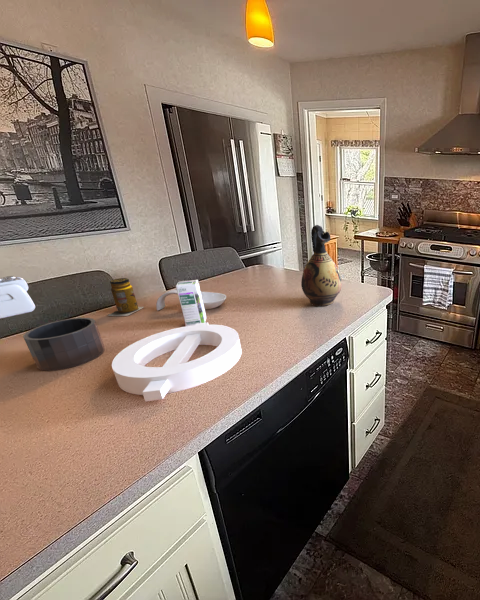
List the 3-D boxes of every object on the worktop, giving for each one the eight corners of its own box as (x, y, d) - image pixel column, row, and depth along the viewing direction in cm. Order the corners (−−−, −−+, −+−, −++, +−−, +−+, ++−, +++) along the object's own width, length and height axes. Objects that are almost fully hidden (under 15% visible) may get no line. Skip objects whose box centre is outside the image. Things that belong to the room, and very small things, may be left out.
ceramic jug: (349, 304, 128) (345, 227, 118) (311, 312, 120) (303, 230, 109) (332, 292, 141) (327, 222, 131) (296, 298, 133) (288, 224, 122)
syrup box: (185, 327, 108) (174, 285, 103) (188, 320, 113) (178, 280, 108) (205, 324, 110) (195, 283, 105) (207, 317, 115) (198, 278, 110)
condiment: (144, 307, 124) (135, 277, 119) (128, 316, 116) (117, 284, 112) (125, 307, 123) (115, 277, 119) (107, 316, 116) (96, 284, 111)
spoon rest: (231, 300, 131) (228, 283, 128) (222, 311, 120) (218, 293, 118) (167, 303, 127) (162, 286, 125) (151, 315, 116) (145, 297, 114)
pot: (41, 377, 81) (26, 345, 78) (33, 359, 88) (20, 329, 85) (111, 355, 91) (100, 326, 88) (98, 340, 99) (88, 313, 95)
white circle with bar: (206, 330, 105) (203, 317, 104) (262, 353, 92) (260, 338, 90) (97, 372, 83) (91, 356, 81) (151, 410, 70) (145, 392, 68)
